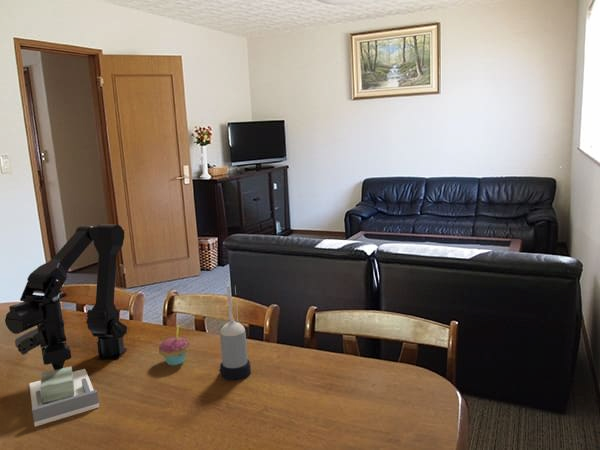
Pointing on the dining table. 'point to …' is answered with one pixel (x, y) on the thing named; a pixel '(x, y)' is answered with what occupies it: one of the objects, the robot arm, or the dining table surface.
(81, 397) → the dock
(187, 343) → the cupcake
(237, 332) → the humidifier
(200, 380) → the dining table surface
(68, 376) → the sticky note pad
